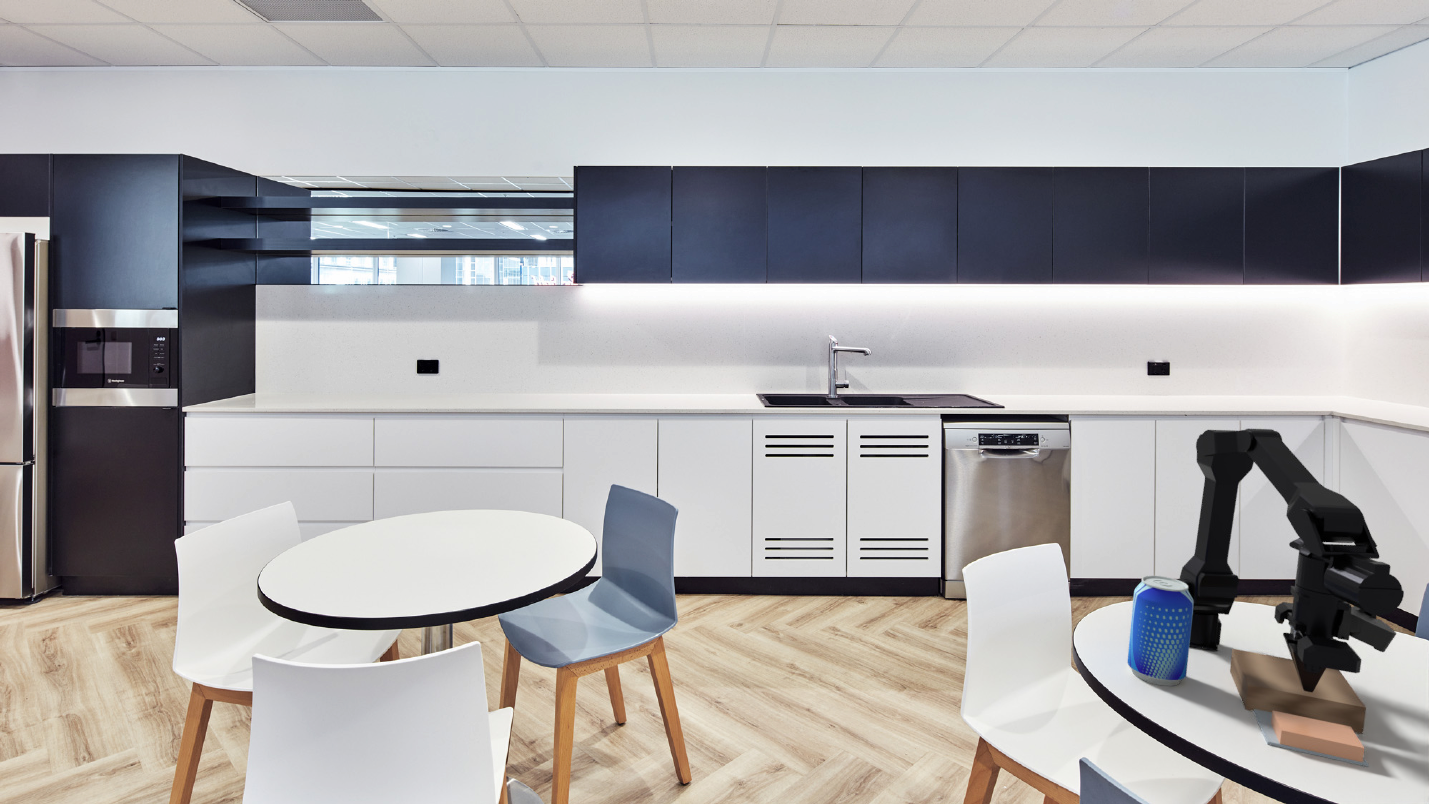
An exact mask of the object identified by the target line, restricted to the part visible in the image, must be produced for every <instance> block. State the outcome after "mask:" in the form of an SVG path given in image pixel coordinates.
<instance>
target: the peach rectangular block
mask: <svg viewBox="0 0 1429 804" xmlns="http://www.w3.org/2000/svg"><path fill="white" fill-rule="evenodd" d="M1271 725H1272V727H1273V729H1274V732H1275V734H1276V736H1277V738H1278V741H1279V743H1280V744H1283V745H1287V746H1292V747H1296V748H1301V749H1305V750H1310V751H1314V752H1319V753H1323V754H1328V755H1332V756H1337V757H1341V758H1346V759H1350V760H1355V761H1359V762H1363V756H1364V754H1365V746H1364V745H1363V743H1362V742H1361V740H1360V738H1359V737H1358V736H1357V733H1355V732H1354V731H1353V730H1352V728H1351V727H1350V726H1345V725H1340V724H1335V723H1331V722H1326V721H1321V720H1316V719H1311V718H1307V717H1302V716H1297V715H1292V714H1287V713H1282V712H1278V711H1273V710H1272V717H1271Z"/></svg>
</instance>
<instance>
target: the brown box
mask: <svg viewBox="0 0 1429 804" xmlns="http://www.w3.org/2000/svg"><path fill="white" fill-rule="evenodd" d="M1229 672H1230V675H1231V677H1232V680H1233V682H1234V684H1235V687H1236V690H1237V692H1238V695H1239V698H1240V699H1241V702H1242V705H1243V707H1244V710H1247V711H1249V712H1250V711H1251V712H1254V709H1257V710H1262V711H1267V712H1272V710H1273V711H1278V712H1282V713H1287V714H1292V715H1297V716H1302V717H1307V718H1311V719H1316V720H1321V721H1326V722H1331V723H1335V724H1340V725H1345V726H1350V727H1351V728H1352V730H1353V731H1354V733H1355V734H1361V735H1364V727H1365V719H1366V712H1367V707H1366V705H1365V703H1364V702H1363V701H1362V699H1361V698H1360V696H1359V695H1358V694H1357V693H1356V691H1355V690H1354V688H1353V687H1352V685H1351V684H1350V683H1349V682H1348V680H1347V679H1346V678H1345V676H1344V675H1343V674H1342V672H1341V671H1340V670H1335V669H1329V668H1326V670H1325V671H1324V673H1323V675H1322V677H1321V678H1320V680H1319V682H1318V684H1317V686H1316V688H1315V689H1314V691H1313V692H1307V691H1304V690H1303V688H1302V686H1301V683H1300V680H1299V677H1298V674H1297V671H1296V668H1295V666H1294V663H1293V660H1292V658H1285V657H1280V656H1274V655H1268V654H1263V653H1259V652H1253V651H1252V652H1251V651H1246V650H1242V649H1241V650H1240V649H1235V648H1232V649H1231V660H1230V668H1229Z"/></svg>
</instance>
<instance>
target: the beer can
mask: <svg viewBox="0 0 1429 804" xmlns="http://www.w3.org/2000/svg"><path fill="white" fill-rule="evenodd" d="M1193 605H1194V601H1193V598H1192V597H1191V595H1190V593H1189V591H1188V585H1187V584H1185V583H1184V582H1182V581H1179V579H1176V578H1172V577H1167V576H1161V575H1145V576H1143V577H1141V582H1140V583H1139V584H1138V585H1137V586H1136V587H1135V589H1134V591H1133V598H1132V609H1131V620H1130V630H1129V641H1128V655H1127V664H1128V666H1129V668H1130V669H1131V672H1132V674H1133V675H1134V676H1135V677H1137V678H1138V679H1140V680H1141V681H1144V682H1146V683H1150V684H1153V685H1156V686H1157V685H1158V686H1163V687H1164V686H1165V687H1172V686H1177V685H1178V684H1180V683H1181V681H1183V680H1184V679H1185V678H1186V677H1187V673H1188V661H1189V651H1190V646H1189V644H1190V634H1191V625H1192V615H1193Z"/></svg>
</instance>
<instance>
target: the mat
mask: <svg viewBox="0 0 1429 804" xmlns="http://www.w3.org/2000/svg"><path fill="white" fill-rule="evenodd" d="M1253 713H1254V716H1255V718H1256V721H1257V723H1258V725H1259V728H1260V730H1261V732H1262V733H1261V734H1263V737H1264V739H1265V742H1266V744H1267V745H1269V746H1275V747H1279V748H1282V749H1287V750H1292V751H1296V752H1300V753H1305V754H1310V755H1315V756H1319V757H1324V758H1327V759H1332V760H1336V761H1337V760H1338V761H1341V762H1345V763H1350V764H1354V765H1359V766H1363V767H1369V762H1368V761H1367V760H1366V757H1365V756H1364V755H1363V762H1359V761H1355V760H1350V759H1346V758H1341V757H1337V756H1332V755H1328V754H1323V753H1319V752H1314V751H1310V750H1305V749H1301V748H1296V747H1292V746H1287V745H1283V744H1280V743H1279V741H1278V738H1277V736H1276V734H1275V732H1274V729H1273V727H1272V725H1271V717H1272V712H1267V711H1262V710H1257V709H1254V711H1253Z"/></svg>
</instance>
